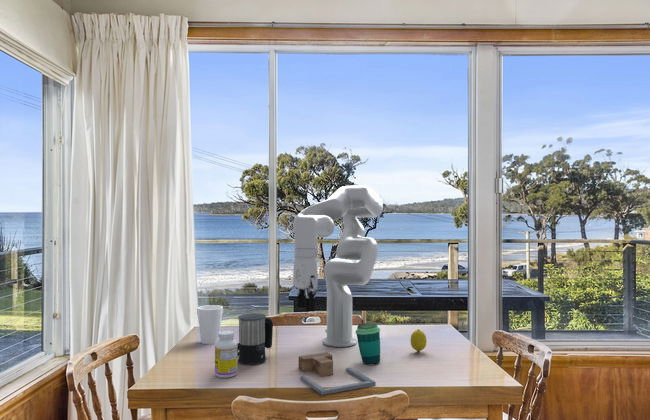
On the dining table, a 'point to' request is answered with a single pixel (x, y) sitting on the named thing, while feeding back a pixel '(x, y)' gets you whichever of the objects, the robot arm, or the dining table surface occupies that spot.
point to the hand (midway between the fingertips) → (305, 308)
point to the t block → (317, 363)
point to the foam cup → (209, 322)
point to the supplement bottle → (226, 355)
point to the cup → (369, 343)
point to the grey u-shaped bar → (322, 391)
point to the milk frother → (254, 338)
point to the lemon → (418, 340)
